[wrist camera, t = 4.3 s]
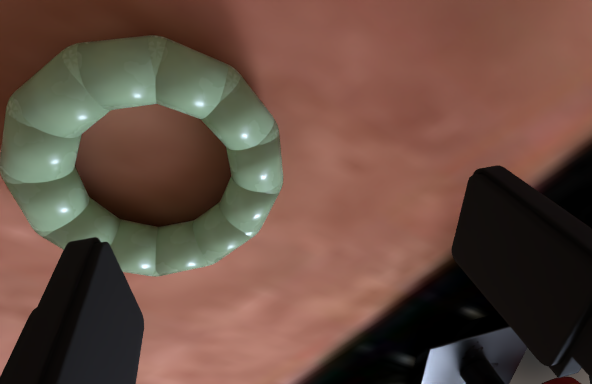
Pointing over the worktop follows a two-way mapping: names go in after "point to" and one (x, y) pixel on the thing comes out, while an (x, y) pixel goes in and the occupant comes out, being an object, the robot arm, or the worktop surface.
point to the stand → (469, 353)
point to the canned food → (562, 381)
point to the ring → (130, 93)
